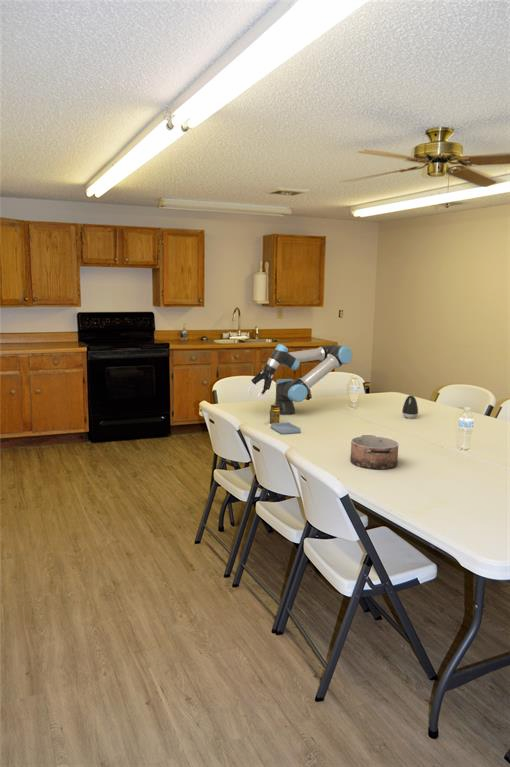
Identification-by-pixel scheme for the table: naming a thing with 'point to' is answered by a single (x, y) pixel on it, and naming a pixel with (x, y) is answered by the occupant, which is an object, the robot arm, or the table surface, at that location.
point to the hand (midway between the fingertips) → (253, 395)
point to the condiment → (274, 414)
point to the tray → (285, 428)
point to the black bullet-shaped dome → (410, 407)
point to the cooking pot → (374, 452)
